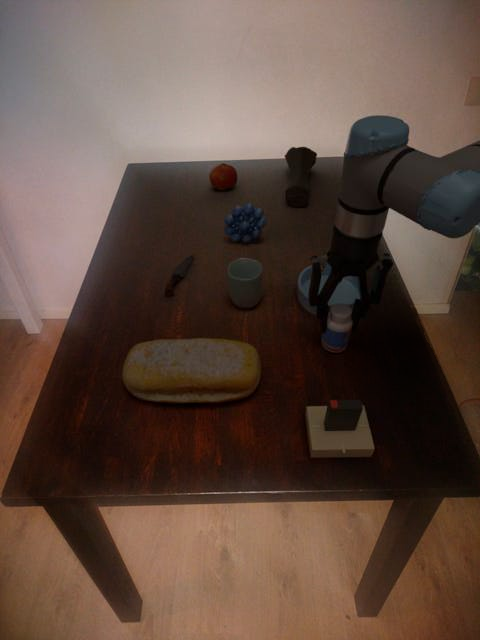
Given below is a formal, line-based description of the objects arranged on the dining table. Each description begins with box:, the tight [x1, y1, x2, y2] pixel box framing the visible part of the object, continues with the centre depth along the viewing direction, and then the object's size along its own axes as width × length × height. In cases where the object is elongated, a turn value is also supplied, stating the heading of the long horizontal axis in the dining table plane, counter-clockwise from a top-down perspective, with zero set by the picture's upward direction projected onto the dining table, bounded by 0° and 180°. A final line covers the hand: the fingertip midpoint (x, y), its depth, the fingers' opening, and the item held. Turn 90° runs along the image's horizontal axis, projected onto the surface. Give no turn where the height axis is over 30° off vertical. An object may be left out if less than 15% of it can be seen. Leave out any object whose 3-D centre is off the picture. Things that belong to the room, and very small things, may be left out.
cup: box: [226, 257, 264, 309], centre depth 87 cm, size 8×8×10 cm
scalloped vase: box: [284, 146, 318, 208], centre depth 125 cm, size 11×10×28 cm
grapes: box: [224, 202, 268, 244], centre depth 104 cm, size 12×7×12 cm, turn 84°
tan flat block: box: [304, 404, 375, 459], centre depth 65 cm, size 10×9×3 cm
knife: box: [163, 255, 194, 298], centre depth 98 cm, size 17×2×5 cm
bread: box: [121, 337, 262, 405], centre depth 73 cm, size 13×26×8 cm, turn 90°
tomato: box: [209, 162, 238, 191], centre depth 127 cm, size 9×9×8 cm
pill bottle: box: [321, 303, 353, 353], centre depth 77 cm, size 6×5×10 cm
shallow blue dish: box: [296, 264, 360, 317], centre depth 89 cm, size 15×16×4 cm
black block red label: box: [324, 399, 363, 431], centre depth 61 cm, size 5×2×7 cm, turn 90°
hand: (337, 327), depth 76 cm, fingers closed on pill bottle, 5 cm apart
